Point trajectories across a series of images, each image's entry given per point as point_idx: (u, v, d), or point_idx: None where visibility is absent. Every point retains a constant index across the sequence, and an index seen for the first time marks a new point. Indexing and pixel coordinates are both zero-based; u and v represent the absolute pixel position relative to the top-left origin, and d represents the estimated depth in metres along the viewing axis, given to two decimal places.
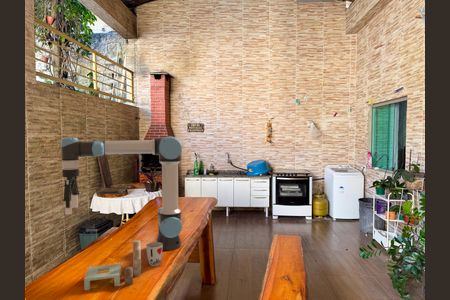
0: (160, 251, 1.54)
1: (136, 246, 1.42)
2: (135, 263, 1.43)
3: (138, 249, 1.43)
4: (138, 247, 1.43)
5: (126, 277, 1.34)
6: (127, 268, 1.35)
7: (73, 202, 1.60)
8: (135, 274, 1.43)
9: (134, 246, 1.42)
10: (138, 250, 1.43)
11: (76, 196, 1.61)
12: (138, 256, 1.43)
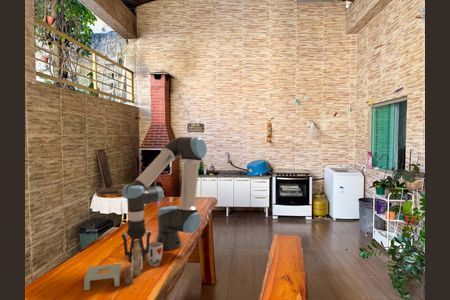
0: (160, 251, 1.54)
1: (136, 246, 1.42)
2: (135, 263, 1.43)
3: (138, 249, 1.43)
4: (138, 247, 1.43)
5: (126, 277, 1.34)
6: (127, 268, 1.35)
7: None
8: (135, 274, 1.43)
9: (134, 246, 1.42)
10: (138, 250, 1.43)
11: None
12: (138, 256, 1.43)
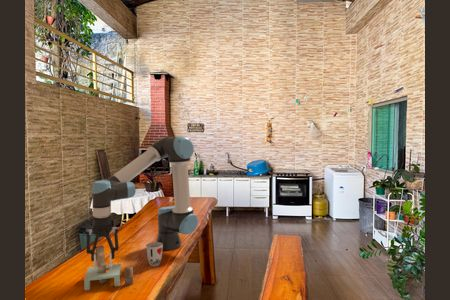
0: (160, 251, 1.54)
1: (99, 252, 1.35)
2: (99, 270, 1.36)
3: (101, 255, 1.36)
4: (101, 253, 1.36)
5: (126, 277, 1.34)
6: (127, 268, 1.35)
7: (110, 259, 1.38)
8: (100, 281, 1.36)
9: (97, 252, 1.35)
10: (101, 256, 1.36)
11: None
12: (102, 262, 1.36)
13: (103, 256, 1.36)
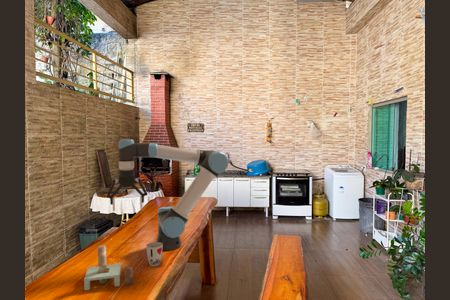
0: (160, 251, 1.54)
1: (101, 252, 1.35)
2: (100, 270, 1.36)
3: (103, 255, 1.36)
4: (103, 253, 1.36)
5: (126, 277, 1.34)
6: (127, 268, 1.35)
7: (140, 203, 1.62)
8: (100, 281, 1.36)
9: (99, 252, 1.36)
10: (103, 256, 1.36)
11: (140, 198, 1.61)
12: (103, 262, 1.36)
13: (105, 256, 1.37)
